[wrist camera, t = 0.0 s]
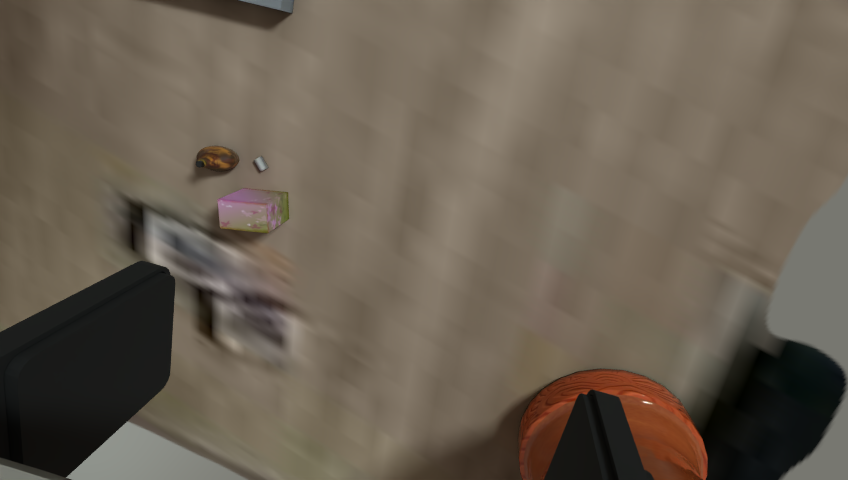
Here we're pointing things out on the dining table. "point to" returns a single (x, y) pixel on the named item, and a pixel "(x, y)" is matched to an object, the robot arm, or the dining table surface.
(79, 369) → the robot arm
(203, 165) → the perfume bottle
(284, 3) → the tray
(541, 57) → the dining table surface
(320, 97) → the dining table surface
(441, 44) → the dining table surface
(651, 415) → the potted flower
